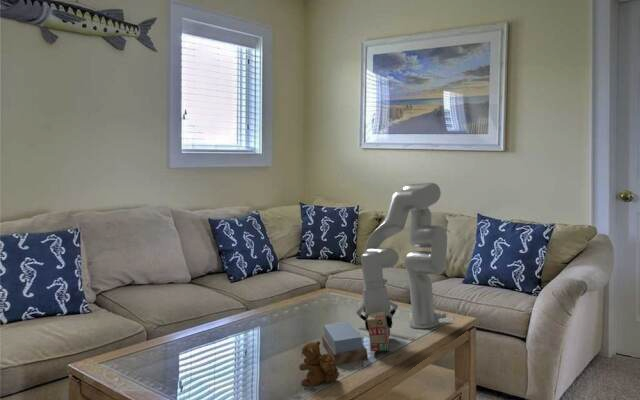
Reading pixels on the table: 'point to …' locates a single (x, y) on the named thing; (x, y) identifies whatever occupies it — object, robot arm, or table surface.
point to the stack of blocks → (378, 331)
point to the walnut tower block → (345, 354)
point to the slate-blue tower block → (343, 337)
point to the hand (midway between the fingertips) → (379, 328)
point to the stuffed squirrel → (317, 366)
